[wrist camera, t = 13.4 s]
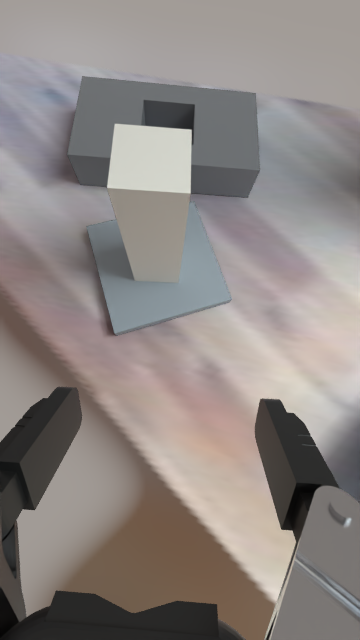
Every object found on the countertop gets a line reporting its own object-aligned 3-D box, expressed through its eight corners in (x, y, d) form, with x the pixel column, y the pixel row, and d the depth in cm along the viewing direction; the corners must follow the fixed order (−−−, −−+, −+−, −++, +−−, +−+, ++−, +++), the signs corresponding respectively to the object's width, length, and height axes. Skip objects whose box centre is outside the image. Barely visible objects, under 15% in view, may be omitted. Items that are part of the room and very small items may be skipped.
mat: (192, 208, 26) (194, 201, 25) (229, 302, 23) (231, 298, 22) (89, 232, 24) (86, 226, 23) (116, 335, 22) (114, 333, 21)
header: (245, 127, 29) (255, 93, 25) (247, 197, 26) (259, 170, 23) (92, 113, 28) (82, 76, 25) (80, 184, 26) (67, 154, 22)
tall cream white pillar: (179, 244, 23) (191, 129, 13) (178, 282, 22) (190, 193, 12) (138, 242, 23) (114, 123, 12) (135, 280, 22) (107, 187, 12)
